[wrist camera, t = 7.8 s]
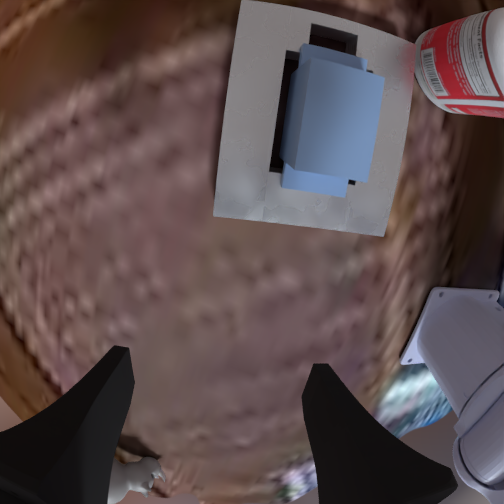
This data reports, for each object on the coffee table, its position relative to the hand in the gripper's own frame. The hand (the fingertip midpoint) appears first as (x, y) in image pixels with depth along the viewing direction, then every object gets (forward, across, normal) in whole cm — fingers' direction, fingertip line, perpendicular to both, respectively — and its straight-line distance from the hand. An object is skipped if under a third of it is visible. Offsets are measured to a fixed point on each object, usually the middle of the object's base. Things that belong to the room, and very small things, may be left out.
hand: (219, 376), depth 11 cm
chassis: (+9, -4, -10) cm, 14 cm away
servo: (+9, -4, -10) cm, 14 cm away
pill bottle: (+10, -13, -16) cm, 23 cm away
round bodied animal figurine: (+10, +11, +27) cm, 31 cm away
